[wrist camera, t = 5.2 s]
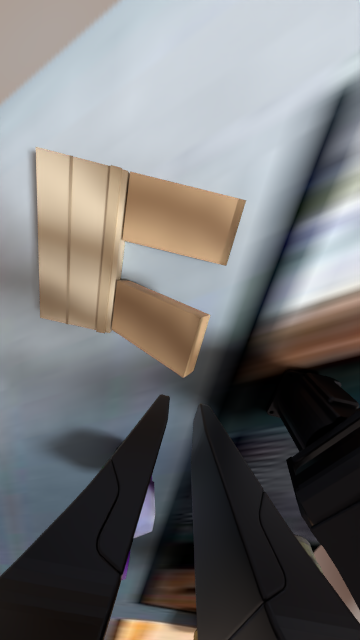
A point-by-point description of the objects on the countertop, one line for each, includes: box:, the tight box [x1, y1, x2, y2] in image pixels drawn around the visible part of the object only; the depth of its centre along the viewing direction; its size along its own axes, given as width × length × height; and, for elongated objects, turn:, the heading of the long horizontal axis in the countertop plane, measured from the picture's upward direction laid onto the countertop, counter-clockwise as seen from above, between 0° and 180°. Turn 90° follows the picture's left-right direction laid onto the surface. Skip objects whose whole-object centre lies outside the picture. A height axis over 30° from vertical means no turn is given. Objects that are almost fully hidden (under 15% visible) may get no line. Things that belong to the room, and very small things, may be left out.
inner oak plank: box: [112, 280, 210, 378], centre depth 17 cm, size 5×9×1 cm
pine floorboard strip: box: [36, 147, 130, 333], centre depth 17 cm, size 14×7×2 cm, turn 167°
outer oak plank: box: [122, 172, 246, 266], centre depth 16 cm, size 5×9×1 cm, turn 77°
